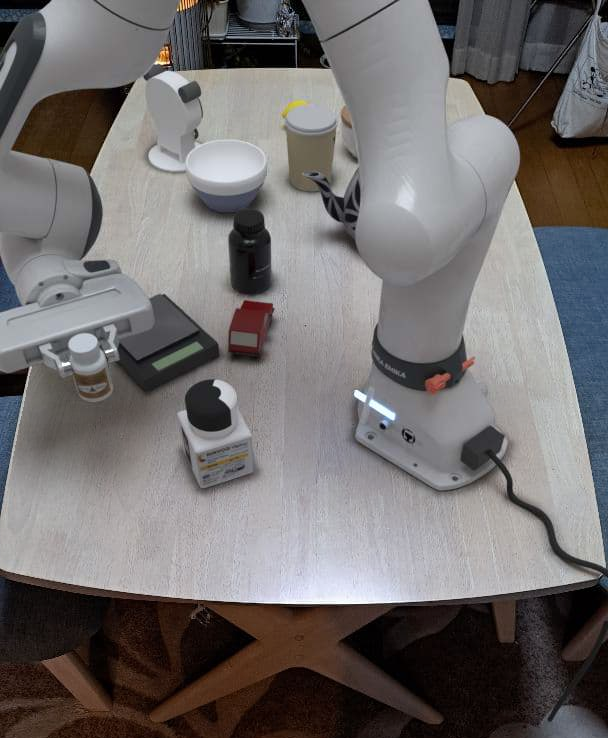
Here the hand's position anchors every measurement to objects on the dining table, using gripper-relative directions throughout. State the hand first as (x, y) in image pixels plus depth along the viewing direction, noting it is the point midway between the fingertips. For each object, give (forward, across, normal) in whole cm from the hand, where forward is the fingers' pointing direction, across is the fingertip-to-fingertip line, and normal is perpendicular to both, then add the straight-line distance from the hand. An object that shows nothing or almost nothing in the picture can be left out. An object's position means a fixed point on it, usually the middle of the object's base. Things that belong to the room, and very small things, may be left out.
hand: (90, 364), depth 96 cm
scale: (-20, +13, +18) cm, 30 cm away
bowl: (-52, +39, +18) cm, 68 cm away
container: (+6, +12, +18) cm, 23 cm away
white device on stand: (-70, +37, +18) cm, 81 cm away
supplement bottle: (-28, +33, +18) cm, 47 cm away
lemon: (-69, +62, +18) cm, 95 cm away
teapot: (-30, +60, +18) cm, 70 cm away
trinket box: (-55, +70, +18) cm, 91 cm away
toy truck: (-16, +27, +18) cm, 36 cm away
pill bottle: (-1, 0, +5) cm, 5 cm away
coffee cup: (-51, +56, +18) cm, 78 cm away
